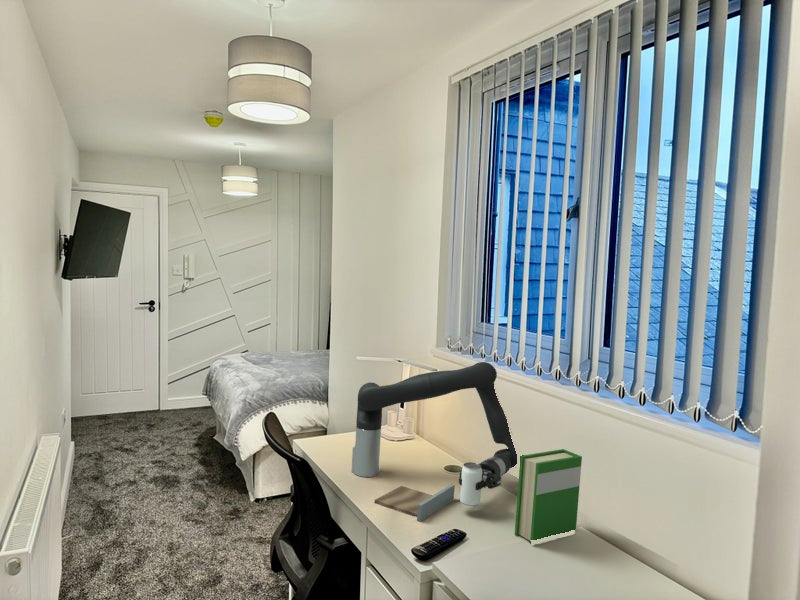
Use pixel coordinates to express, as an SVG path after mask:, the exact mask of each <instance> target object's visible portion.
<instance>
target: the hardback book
mask: <svg viewBox="0 0 800 600" xmlns="http://www.w3.org/2000/svg"><path fill="white" fill-rule="evenodd" d="M582 459H583V456H582V455H579V454H577V453H574V452H572V451H570V450H567V449H565V448H561V449H555V450H549V451H541V452H535V453H529V454H524V455H522V456H520V467H519V470H518V471H519V472H518V473H519V474H518V485H517V497H516V498H517V499H516V500H517V501H516V511H515V512H516V513H515V525H514V536H515V537H519V536H521V537H523V538H525V539H526V540H527V541H529V540H537V539H541V538H544V537H548V536H551V535H556V534H560V533H565V532H569V531H571V530H575V529H576V530H577V523H578V510H579V508H578V507H579V498H580V497H579V496H580V485H581V475H582V471H581V470H582V463H583V462H582Z"/></svg>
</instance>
